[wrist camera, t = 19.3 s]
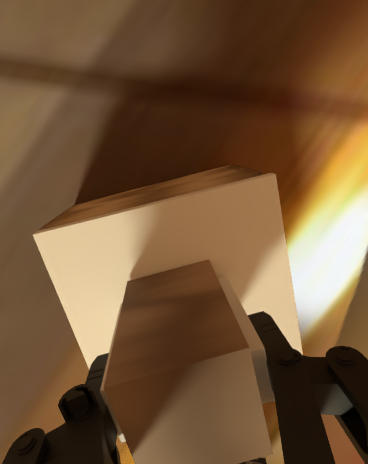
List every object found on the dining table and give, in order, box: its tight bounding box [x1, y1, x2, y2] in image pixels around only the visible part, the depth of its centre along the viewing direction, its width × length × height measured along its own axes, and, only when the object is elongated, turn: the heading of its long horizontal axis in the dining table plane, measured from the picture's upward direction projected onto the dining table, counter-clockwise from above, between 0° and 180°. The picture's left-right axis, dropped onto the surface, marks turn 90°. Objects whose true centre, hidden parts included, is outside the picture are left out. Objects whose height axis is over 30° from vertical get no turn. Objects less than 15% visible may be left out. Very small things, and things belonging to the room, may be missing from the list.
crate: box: [39, 164, 262, 231], centre depth 24 cm, size 14×13×8 cm
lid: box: [33, 173, 303, 370], centre depth 19 cm, size 14×13×1 cm
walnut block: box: [104, 259, 273, 464], centre depth 14 cm, size 5×5×8 cm
